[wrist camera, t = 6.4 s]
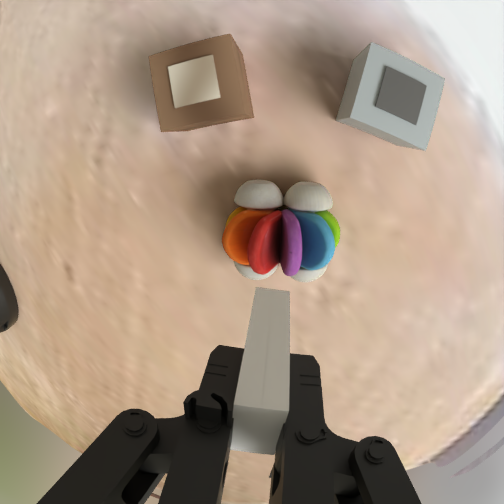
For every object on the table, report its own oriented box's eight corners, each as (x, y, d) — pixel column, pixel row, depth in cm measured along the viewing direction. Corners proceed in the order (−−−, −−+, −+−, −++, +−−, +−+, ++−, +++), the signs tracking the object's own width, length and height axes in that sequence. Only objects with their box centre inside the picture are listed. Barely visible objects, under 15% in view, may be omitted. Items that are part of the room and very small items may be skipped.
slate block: (335, 120, 23) (350, 117, 17) (353, 60, 21) (372, 41, 15) (397, 145, 23) (426, 151, 17) (414, 87, 21) (446, 78, 15)
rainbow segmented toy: (229, 176, 26) (209, 192, 19) (339, 181, 25) (358, 199, 18) (230, 264, 29) (214, 304, 23) (330, 269, 28) (342, 311, 22)
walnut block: (187, 131, 25) (159, 132, 19) (176, 69, 22) (147, 55, 17) (254, 117, 24) (244, 113, 18) (242, 54, 21) (229, 32, 16)
